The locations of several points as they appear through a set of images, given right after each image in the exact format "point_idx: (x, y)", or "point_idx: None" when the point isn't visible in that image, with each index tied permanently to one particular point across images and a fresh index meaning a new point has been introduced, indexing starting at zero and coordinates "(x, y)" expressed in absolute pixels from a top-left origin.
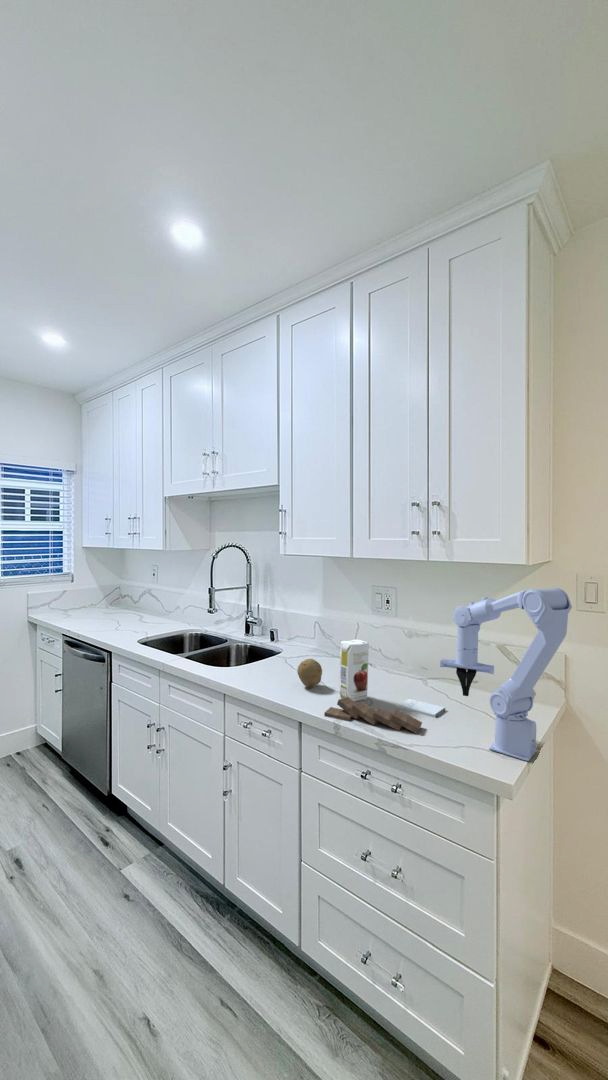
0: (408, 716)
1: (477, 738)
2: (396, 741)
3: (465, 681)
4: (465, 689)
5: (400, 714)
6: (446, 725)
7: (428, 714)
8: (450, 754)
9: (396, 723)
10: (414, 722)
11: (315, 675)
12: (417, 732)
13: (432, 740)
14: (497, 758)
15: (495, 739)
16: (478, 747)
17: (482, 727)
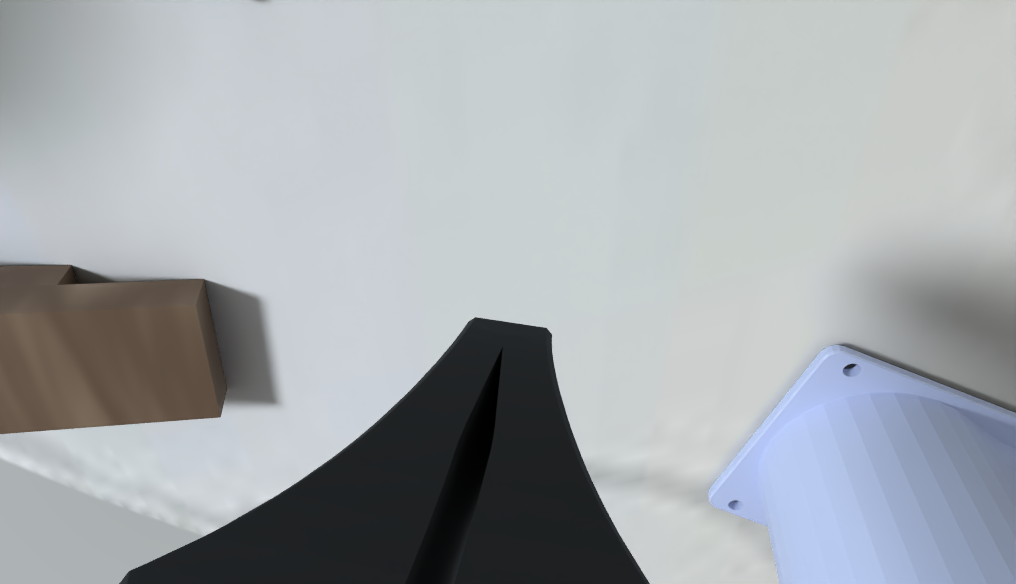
0: (66, 331)
1: (649, 347)
2: (166, 500)
3: (446, 557)
4: (481, 474)
5: (7, 370)
6: (385, 167)
7: None
8: None
9: None
10: (151, 370)
11: None
12: (223, 395)
13: (343, 448)
14: (735, 563)
15: (766, 518)
16: (637, 470)
17: (740, 88)
